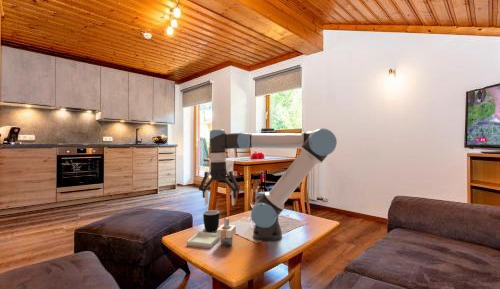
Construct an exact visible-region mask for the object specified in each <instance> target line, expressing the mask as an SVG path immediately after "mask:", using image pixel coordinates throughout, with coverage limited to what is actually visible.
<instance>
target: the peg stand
mask: <svg viewBox="0 0 500 289" xmlns="http://www.w3.org/2000/svg"><path fill="white" fill-rule="evenodd" d="M223 221H224V222H223V225H224V229H229V225H230V218H229V217H226V216H225V217H224V219H223ZM220 246H221V247H223V248H229V247H232V246H233V236H232V237H231V238H227V237H226V238H225V239H222V238H221V239H220Z"/></svg>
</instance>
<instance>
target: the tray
mask: <svg viewBox="0 0 500 289" xmlns="http://www.w3.org/2000/svg"><path fill="white" fill-rule="evenodd" d="M219 241H221V237H217V232H207V231H198V232H196V233H195V234H194V235H192V236H191V237H190V238H189V239H187V241H186V246H187V247H194V248H195V247H196V248H205V249H212V248H213V247H214V246H215V245H216V243H218V242H219Z"/></svg>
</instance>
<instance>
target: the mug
mask: <svg viewBox="0 0 500 289" xmlns="http://www.w3.org/2000/svg"><path fill="white" fill-rule="evenodd" d="M202 218H203V226H204V230H205V232H208V233H216V232H217V229H218V228H219V225H220V211H219V210H215V209H211V210H210V209H209V210H205V211H204V212H203V214H202Z"/></svg>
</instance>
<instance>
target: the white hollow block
mask: <svg viewBox="0 0 500 289" xmlns="http://www.w3.org/2000/svg"><path fill="white" fill-rule="evenodd" d="M236 232H237V226H236V225H233V224H232V225H231V224H229V229H224V223H223V224H221V225H220V226H218V229H217V231H216V233H217V237H221V238H222V239H225V238H226V237H227V238H231V237H232V238H233V236H234V235H235V234H236Z"/></svg>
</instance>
